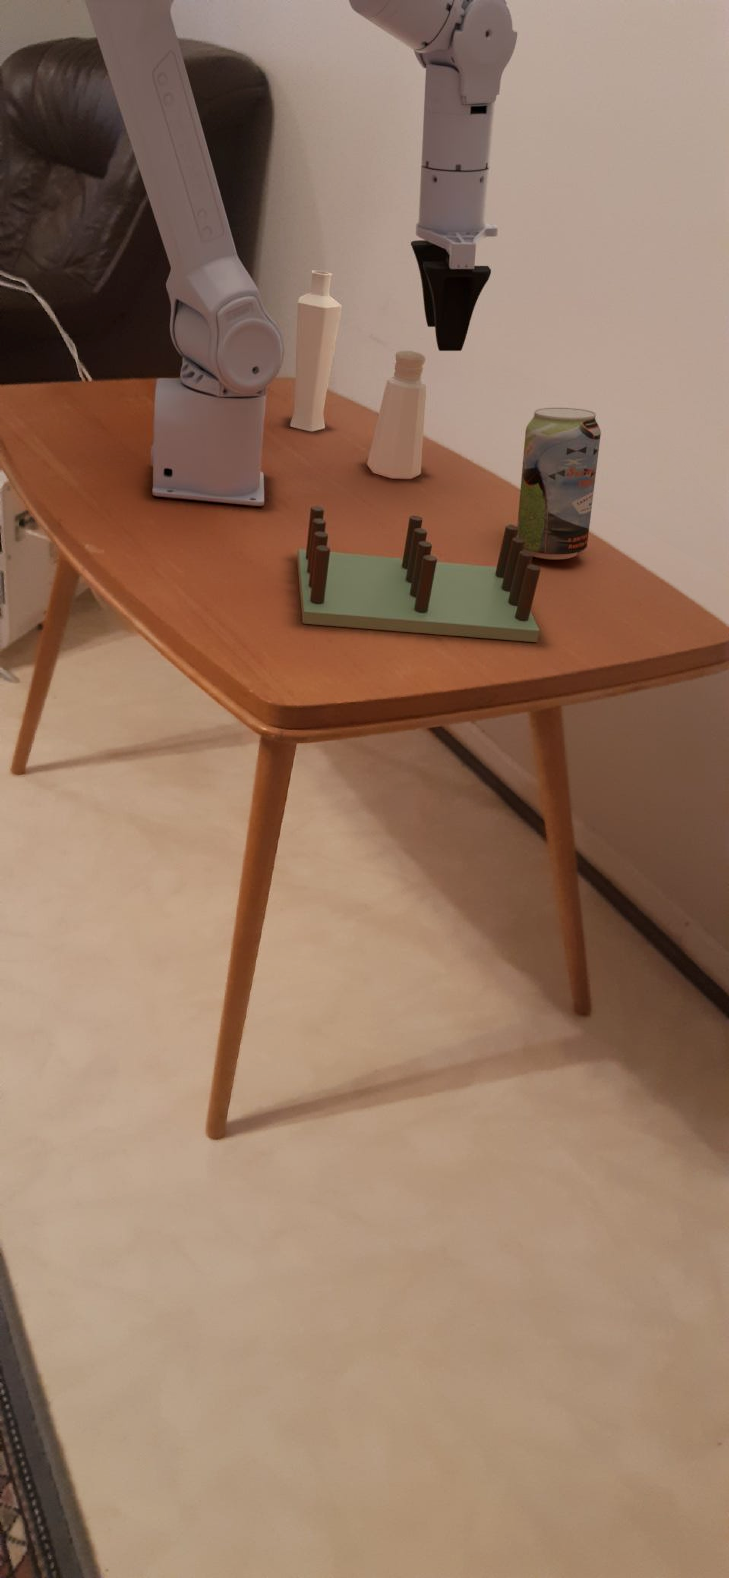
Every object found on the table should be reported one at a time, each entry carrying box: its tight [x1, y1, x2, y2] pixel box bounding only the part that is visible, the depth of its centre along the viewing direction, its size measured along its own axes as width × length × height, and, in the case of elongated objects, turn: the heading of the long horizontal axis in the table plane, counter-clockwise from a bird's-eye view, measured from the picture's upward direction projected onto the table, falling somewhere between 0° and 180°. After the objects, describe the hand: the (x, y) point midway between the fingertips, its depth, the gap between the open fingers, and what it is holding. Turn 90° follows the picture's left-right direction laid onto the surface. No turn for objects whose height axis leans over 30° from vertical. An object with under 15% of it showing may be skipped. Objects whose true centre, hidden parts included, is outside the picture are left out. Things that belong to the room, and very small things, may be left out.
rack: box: [296, 505, 541, 643], centre depth 76 cm, size 17×11×5 cm, turn 95°
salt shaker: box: [366, 350, 427, 480], centre depth 99 cm, size 5×5×11 cm
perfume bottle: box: [289, 269, 343, 432], centre depth 106 cm, size 5×4×15 cm
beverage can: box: [516, 407, 602, 560], centre depth 85 cm, size 6×7×12 cm
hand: (443, 337), depth 94 cm, fingers open, 7 cm apart
